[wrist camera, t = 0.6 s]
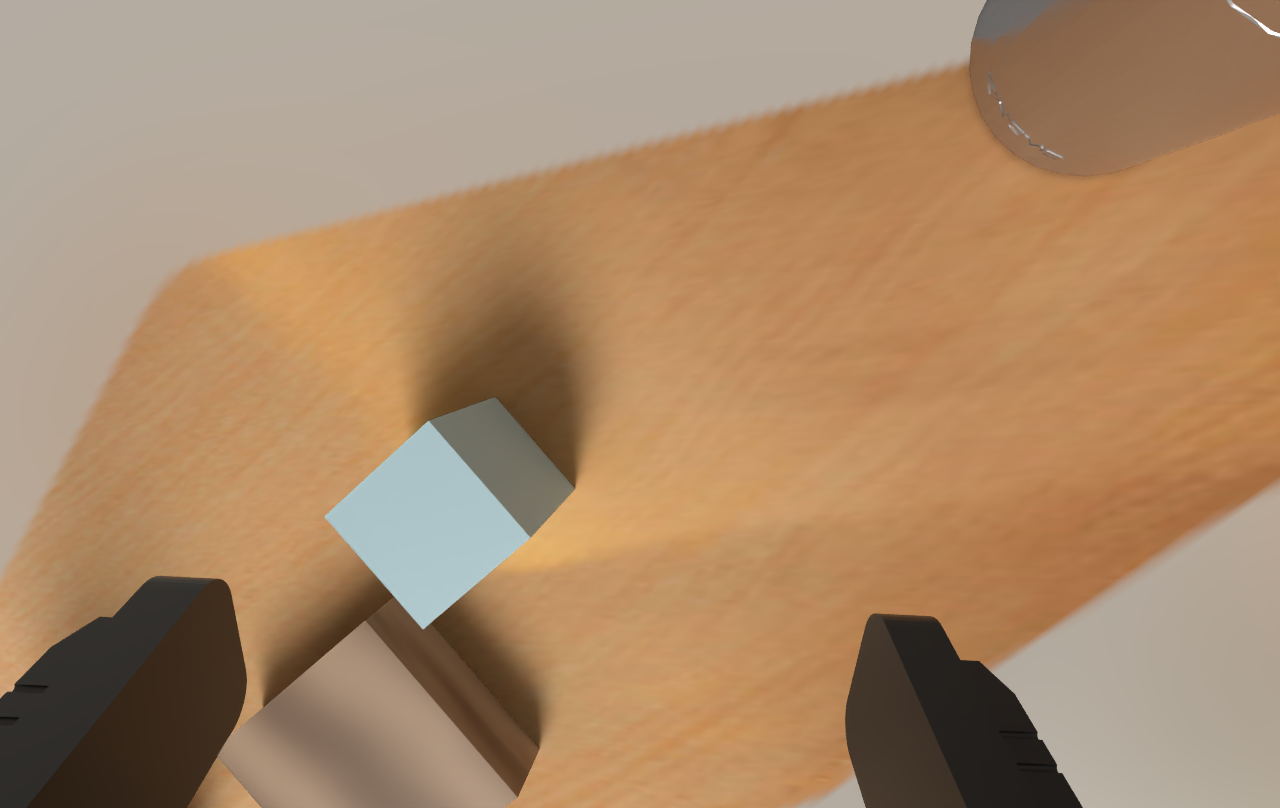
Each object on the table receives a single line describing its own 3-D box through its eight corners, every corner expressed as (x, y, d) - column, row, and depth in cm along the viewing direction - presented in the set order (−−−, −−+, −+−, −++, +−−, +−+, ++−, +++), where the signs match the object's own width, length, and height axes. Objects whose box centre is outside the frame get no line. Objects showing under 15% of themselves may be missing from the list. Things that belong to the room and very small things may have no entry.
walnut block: (405, 586, 36) (365, 620, 32) (541, 744, 36) (517, 797, 32) (266, 705, 38) (212, 751, 34) (396, 855, 38) (357, 918, 34)
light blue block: (495, 396, 34) (428, 420, 27) (575, 488, 34) (530, 537, 27) (411, 473, 35) (324, 516, 28) (489, 562, 35) (422, 629, 28)
